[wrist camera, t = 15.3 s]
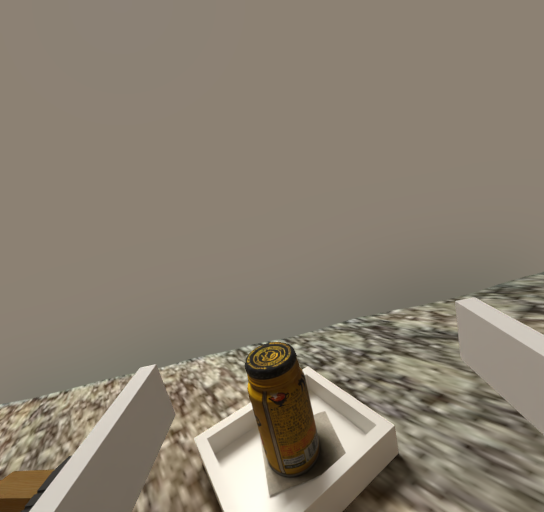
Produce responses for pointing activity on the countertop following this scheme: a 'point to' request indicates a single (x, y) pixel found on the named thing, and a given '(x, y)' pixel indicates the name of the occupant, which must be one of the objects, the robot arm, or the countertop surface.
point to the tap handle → (20, 488)
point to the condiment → (288, 419)
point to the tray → (316, 492)
